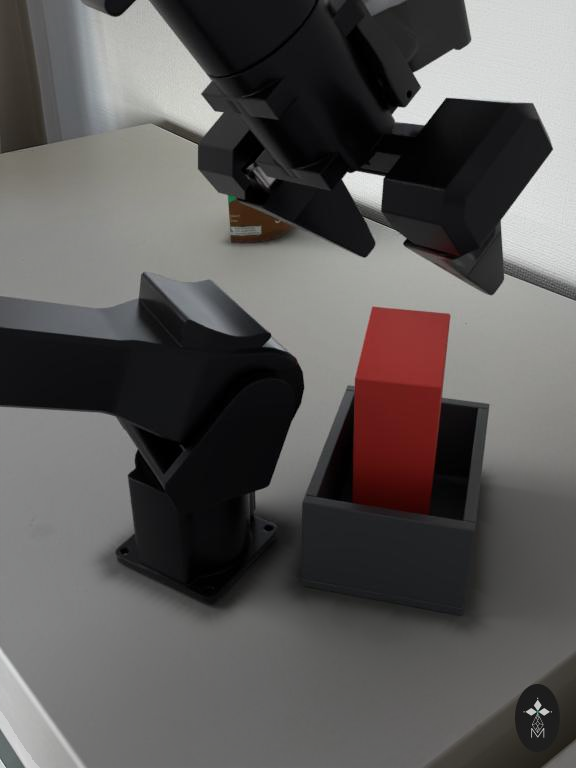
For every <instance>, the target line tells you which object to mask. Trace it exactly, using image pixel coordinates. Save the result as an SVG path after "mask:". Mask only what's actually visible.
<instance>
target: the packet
mask: <svg viewBox="0 0 576 768" xmlns="http://www.w3.org/2000/svg"><path fill="white" fill-rule="evenodd" d="M450 323H451V313H449V312H448V313H447V312H437V311H436V312H435V311H427V310H415V309H403V308H393V307H383V306H382V307H381V306H372V307H371V310H370V314H369V318H368V322H367V327H366V330H365V335H364V338H363V343H362V347H361V351H360V355H359V359H358V363H357V368H356V372H355V376H354V386H355V397H354V446H353V496H352V503H355V504H361V505H367V506H373V507H379V508H386V509H392V510H398V511H404V512H410V513H416V514H423V515H429V513H430V504H431V495H432V487H433V478H434V469H435V460H436V450H437V441H438V431H439V421H440V412H441V402H442V398H443V392H444V382H445V372H446V364H447V363H446V362H447V353H448V344H449V343H448V342H449V334H450Z"/></svg>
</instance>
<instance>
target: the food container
mask: <svg viewBox="0 0 576 768" xmlns="http://www.w3.org/2000/svg"><path fill="white" fill-rule="evenodd" d="M227 203H228V204H227V205H228V217H229V218H228V219H229V233H230V243H238V244H239V243H241V244H244V243H245V244H247V243H258V242H265V241H270V240H274V239H276V238H278V237H281V236H284V235H286V234H288V232H290V230H291V229H292V225H290V224H288V223H286V222H283V221H281V220H279V219H277V218H275V217H272V216H270V215H268V214H266V213H263V212H261V211H259V210H257V209H254V208H252V207H250V206H247V205H244V204H242V203H240V202H238V201H237V199H236V197H233V196H229V195H227Z"/></svg>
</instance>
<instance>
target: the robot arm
mask: <svg viewBox="0 0 576 768" xmlns="http://www.w3.org/2000/svg"><path fill="white" fill-rule="evenodd" d="M148 1H149V3H150V4H151V5H152V6H153V7H154V10H155V11H157V13H158V14H159V15H160V17H161V18H162V19H163V21H164V22H165V23H166V24H167V26H168V27H169V28H170V29H171V31H172V32H173V33H174V35H175V36H176V37H177V39H178V40H179V41H180V42H181V43H182V45H183V46H184V48H185V49H186V50H187V51H188V53H189V54H190V55H191V56H192V58H193V59H194V60H195V61H196V63H197V64H198V65H199V67H200V68H201V69H202V70H203V72H204V73H205V75H207V77H208V78H209V79H210V82H209V83H208V85H207V86H206V87H205V88H204V89H203V91H201V93H200V96H202V98H204V100H205V101H206V102H207V104H208V105H209V106H210V107H211V109H212V110H213V111H214V112H217V113H222V114H221V115H220V116H219V117H218V118H217V120H216V121H214V123H213V125H212V126H211V127H210V128H209V129H208V130H207V132H206V133H205V134H204V135H203V136H202V138H201V139H200V141H199V142H198V143H197V170H198V171H199V172H200V173H201V174H202V176H203V177H204V178H205V179H206V180H207V182H209V183H210V185H211V186H212V187H213V188H214V189H215V191H216V192H217V193H218V194H222V195H226V196H228V195H229V196H233V197H236V199H237V201H238V202H240V203H242V204H244V205H247V206H250V207H252V208H254V209H257V210H259V211H261V212H263V213H266V214H268V215H270V216H272V217H275V218H277V219H279V220H281V221H283V222H286V223H288V224H290V225H292V226H293V227H294V228H297V229H300V230H301V231H304V232H306V233H309V234H311V235H312V236H315V237H316V238H319V239H321V240H323V241H326V242H327V243H329V244H332V245H334V246H336V247H339V248H341V249H343V250H345V251H346V252H349V253H351V254H353V255H355V256H358V257H361V258H364V259H365V258H367V257H368V256H369V255H370V254H371V253H372V251H373V250H374V249H375V247H376V240H375V239H374V236H373V234H372V232H371V229H370V227H369V225H368V223H367V221H366V219H365V217H364V216H363V214H362V212H361V210H360V209H359V207H358V205H357V204H356V203H357V202H355V200H354V198H353V196H352V194H351V192H350V190H349V189H348V188H347V185H346V184H345V182H344V179H343V178H344V177H345V176H346V175H347V173H348V174H353V173H355V172H359V173H364V174H368V175H369V174H370V175H375V176H379V177H383V180H382V191H381V192H382V193H381V206H380V212H381V214H382V215H383V216H384V218H385V219H386V221H387V222H388V223H389V225H390V226H391V228H392V229H393V230H394V231H396V232H397V233H399V234H400V235H401V236H403V237H404V238H405V239H404V241H403V242H402V245H403V247H405V248H406V249H408V250H409V251H411V252H413V253H414V254H416V255H418V256H420V257H421V258H423V259H424V260H426V261H428V262H430V263H432V264H433V265H435V266H437V267H439V268H440V269H441V270H443V271H445V272H447V273H448V274H450V275H452V276H454V277H455V278H457V279H459V280H460V281H462V282H463V283H465V284H467V285H469V286H471V287H472V288H474V289H476V290H478V291H479V292H481V293H483V294H485V295H488V296H494V295H495V294H496V292H497V291H498V290H499V288H500V287H501V285H502V284H503V283H504V280H505V265H504V251H503V236H502V235H503V234H502V219H504V217H505V216H506V214H507V213H508V211H509V210H510V209H511V207H512V206H513V204H514V203H515V202H516V201H517V200H518V198H519V196H520V195H521V194H522V193H523V191H524V189H526V188H527V186H528V184H529V183H530V181H531V180H532V179H533V178H534V176H535V175H536V174H537V172H538V171H539V169H540V168H541V167H542V165H544V163H545V161H546V160H547V159H548V158H549V156H550V155H551V153H552V152H553V150H554V148H553V144H552V141H551V137H550V135H549V133H548V131H547V129H546V127H545V125H544V123H543V121H542V119H541V117H540V114H539V112H538V110H537V109H536V106H535V104H534V103H533V102H525V101H524V102H523V101H513V100H512V101H511V100H500V99H499V100H497V99H485V98H473V97H445V98H444V100H443V101H442V102H441V104H440V105H439V106H438V108H437V109H436V110H435V111H434V113H433V114H432V115H431V117H430V118H429V119H428V120H427V122H426V123H425V124H417V123H409V122H399V121H396V120H395V118H394V116H393V115H394V113H395V112H396V111H397V109H398V108H406V107H408V105H409V104H410V103H411V101H412V100H413V99H414V98H415V96H416V95H417V94H418V93H419V91H420V90H421V89H422V86H421V84H420V82H419V81H418V79H417V77H416V76H415V74H414V73H416V72H419V70H422V69H423V68H425V67H426V66H428V65H430V64H431V63H433V62H435V61H436V60H438V59H440V58H441V57H443V56H445V55H446V54H448V53H450V52H451V51H453V50H455V51H461V50H462V49H464V48H465V47H467V46H468V45H470V43H472V35H471V29H470V24H469V18H468V12H467V8H466V3H465V0H148ZM136 2H137V0H80V3H82V4H83V5H85V6H87V7H88V8H90V9H92V10H93V9H94V10H96V11H98V12H101V13H102V14H105V15H108V16H110V17H113V18H118V17H121V16H122V15H123V14H124V13H126V12H127V10H128V9H129V8H130V7H131V6H132V5H133V4H134V3H136ZM292 226H291V227H292ZM139 281H140V282H139V293H138V298H135V299H132V300H129V301H126V302H123V303H120V304H116V305H114V306H111V307H99V308H98V307H97V308H96V307H88V306H79V305H74V304H73V305H72V304H65V303H59V302H58V303H57V302H49V301H43V300H33V299H27V298H19V297H12V296H11V297H10V296H3V295H0V408H15V409H31V410H46V411H47V410H50V411H66V412H79V413H99V414H105V415H108V416H113V417H115V418H116V419H117V421H118V423H119V424H120V426H121V427H122V429H123V430H124V431H125V432H126V433H127V435H128V436H129V438H130V440H131V441H132V442H133V444H134V445H135V447H136V448H137V450H136V452H135V454H134V469H133V470H131V471H130V472H129V473H128V474H127V481H128V489H129V497H130V506H131V514H132V522H133V529H134V530H133V531H134V532H133V534H132V535H131V536H130V537H129V538H127V539H126V540H125V541H123V543H121V544H120V545H119V546H118V547H117V548H116V549H115V559H116V561H117V562H118V563H119V564H122V565H124V566H126V567H128V568H130V569H132V570H134V571H136V572H138V573H141V574H143V575H145V576H147V577H149V578H151V579H153V580H155V581H157V582H160V583H162V584H164V585H166V586H168V587H170V588H172V589H173V590H174V589H175V590H177V591H178V592H180V593H183V594H185V595H186V596H188V597H191V598H193V599H195V600H197V601H199V602H201V603H203V604H207V605H209V604H214V603H216V602H217V601H219V600H220V599H221V597H222V596H223V595H224V594H225V593H226V592H227V591H228V590H229V589H230V588H231V587H232V586H233V585H234V584H235V582H236V581H237V580H238V579H239V578H240V577H241V576H242V575H243V574H244V573H245V572H246V571H247V570H248V569H249V567H250V566H251V565H252V564H253V563H254V562H255V561H256V560H257V559H258V558H259V557H260V556H261V555H262V553H263V552H264V551H265V550H266V549H267V548H268V547H269V546H270V545H271V543H273V541H274V540H276V538H277V537H278V536H279V535H278V533H279V532H278V531H279V530H278V526H277V524H275V523H274V522H271V521H269V520H266V519H264V518H261V517H259V516H257V515H255V511H256V508H257V507H256V492H257V491H260V490H263V489H266V488H268V487H269V486H270V484H271V482H272V480H273V479H272V478H273V477H274V473H275V471H276V468H277V465H278V462H279V459H280V456H281V453H282V450H283V447H284V445H285V442H286V439H287V436H288V433H289V430H290V428H291V425H292V422H293V420H294V419H295V417H296V414H297V413H298V411H299V409H300V406H301V405H302V403H303V402H302V401H303V396H304V392H305V379H304V371H303V369H302V367H301V365H300V363H299V361H298V358H297V357H296V356H295V355H293V354H292V353H291V352H290V351H289V350H288V349H287V348H286V347H285V346H284V345H283V344H281V343H280V342H279V341H278V340H277V339H276V338H275V337H274V336H273V335H272V333H271V332H270V331H269V330H268V329H267V328H266V327H265V326H264V325H262V324H261V323H260V322H259V321H258V320H257V319H256V318H255V317H254V316H252V315H251V314H250V313H249V312H248V311H247V310H246V309H245V308H243V307H242V305H240V304H239V303H238V302H237V301H236V300H235V299H234V298H233V297H232V296H230V294H228V292H226V291H225V290H224V289H223V288H222V287H221V286H219V284H218V283H216V282H215V280H213V279H211V278H208V279H205V280H200V281H195V282H193V281H191V282H190V281H189V282H188V281H179V280H175V279H172V278H169V277H166V276H163V275H161V274H158V273H154V272H148V271H143V272H141V274H140V280H139Z"/></svg>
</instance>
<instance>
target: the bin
mask: <svg viewBox="0 0 576 768" xmlns="http://www.w3.org/2000/svg"><path fill="white" fill-rule="evenodd" d="M354 397H355V385H350V384H348V385H347V386H346V389H345V391H344V394H343V396H342V399H341V402H340V403H339V406H338V409H337V411H336V414H335V417H334V420H333V422H332V424H331V427H330V430H329V432H328V435H327V437H326V439H325V440H326V441H325V442H324V445H323V447H322V451H321V453H320V456H319V458H318V461H317V463H316V467H315V469H314V471H313V474H312V477H311V479H310V482H309V484H308V487H307V490H306V492H305V494H304V498H303V499H302V502H301V510H302V511H301V515H302V516H301V517H302V518H301V586H302V587H306V588H311V589H317V590H323V591H329V592H333V593H337V594H338V593H339V594H343V595H349V596H354V597H359V598H360V597H361V598H366V599H371V600H377V601H383V602H388V603H393V604H398V605H399V604H400V605H403V606H408V607H409V606H410V607H413V608H414V607H415V608H420V609H425V610H429V611H430V610H431V611H434V612H435V611H437V612H441V613H447V614H451V615H452V614H453V615H458V616H463V615H464V610H465V603H466V602H465V601H466V595H467V588H468V582H469V575H470V569H471V562H472V554H473V546H474V540H475V534H476V525H477V516H478V508H479V500H480V499H479V498H480V492H481V491H480V490H481V482H482V473H483V465H484V458H485V457H484V455H485V448H486V440H487V439H486V438H487V429H488V421H489V415H490V414H489V413H490V403H488V402H487V403H486V402H479V401H471V400H463V399H457V398H448V397H442V402H441V412H440V421H439V431H438V441H437V450H436V460H435V469H434V478H433V487H432V495H431V504H430V513H429V515H423V514H416V513H410V512H404V511H398V510H392V509H386V508H379V507H373V506H367V505H361V504H355V503H352V496H353V446H354Z"/></svg>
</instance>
